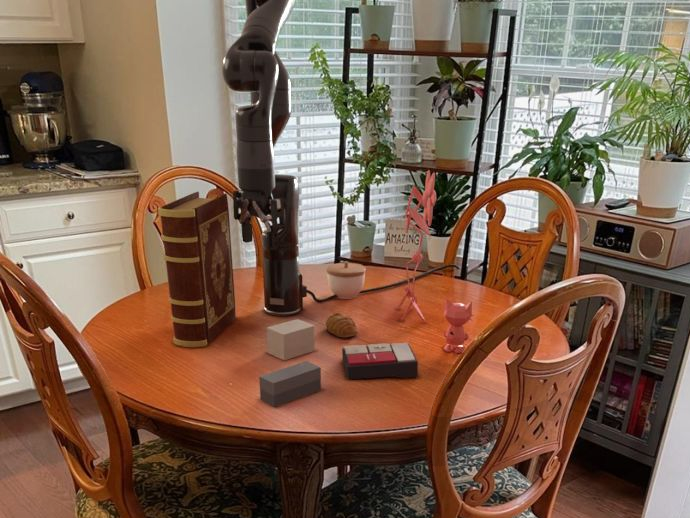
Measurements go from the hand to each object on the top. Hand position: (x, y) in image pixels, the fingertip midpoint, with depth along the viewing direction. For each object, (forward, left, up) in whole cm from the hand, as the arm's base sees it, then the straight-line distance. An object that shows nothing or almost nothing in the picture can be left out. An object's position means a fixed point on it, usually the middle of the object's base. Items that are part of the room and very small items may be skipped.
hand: (260, 245), depth 153 cm
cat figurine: (-31, +31, -23) cm, 49 cm away
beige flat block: (-2, +7, -19) cm, 20 cm away
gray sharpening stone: (+13, +25, -23) cm, 36 cm away
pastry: (-20, +5, -23) cm, 31 cm away
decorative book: (+5, -17, -23) cm, 29 cm away
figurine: (-45, +10, -23) cm, 51 cm away
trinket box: (-41, -16, -23) cm, 49 cm away
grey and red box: (-10, +27, -23) cm, 37 cm away
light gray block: (-2, +7, -23) cm, 24 cm away
